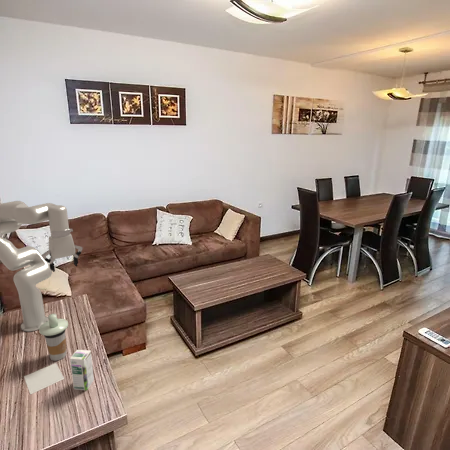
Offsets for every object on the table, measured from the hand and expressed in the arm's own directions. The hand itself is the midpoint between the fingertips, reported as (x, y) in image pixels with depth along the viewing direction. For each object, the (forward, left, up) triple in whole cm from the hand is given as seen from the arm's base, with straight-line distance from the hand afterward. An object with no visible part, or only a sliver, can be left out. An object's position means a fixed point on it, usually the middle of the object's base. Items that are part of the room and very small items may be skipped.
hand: (64, 268), depth 141 cm
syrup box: (+36, -7, -36) cm, 52 cm away
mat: (+22, -18, -36) cm, 46 cm away
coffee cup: (+12, -10, -36) cm, 40 cm away
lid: (+12, -10, -21) cm, 26 cm away
